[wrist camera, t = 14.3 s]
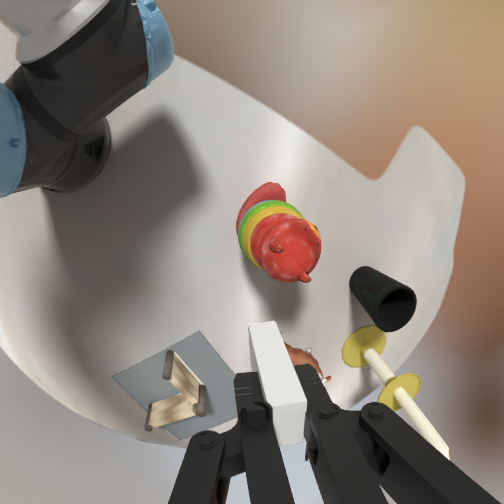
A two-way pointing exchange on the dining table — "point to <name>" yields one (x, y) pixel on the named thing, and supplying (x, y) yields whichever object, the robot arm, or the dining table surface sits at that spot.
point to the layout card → (156, 389)
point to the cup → (383, 298)
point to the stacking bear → (277, 235)
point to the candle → (390, 380)
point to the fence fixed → (185, 382)
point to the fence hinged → (169, 411)
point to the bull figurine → (304, 359)
